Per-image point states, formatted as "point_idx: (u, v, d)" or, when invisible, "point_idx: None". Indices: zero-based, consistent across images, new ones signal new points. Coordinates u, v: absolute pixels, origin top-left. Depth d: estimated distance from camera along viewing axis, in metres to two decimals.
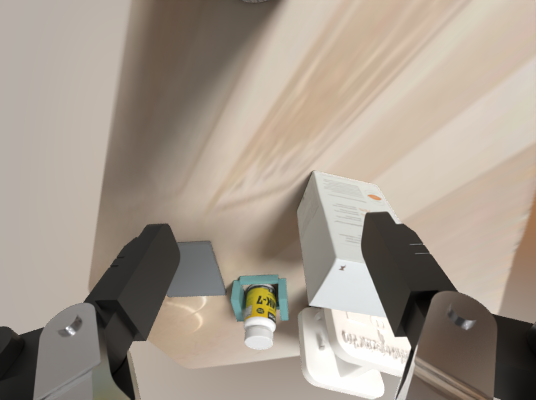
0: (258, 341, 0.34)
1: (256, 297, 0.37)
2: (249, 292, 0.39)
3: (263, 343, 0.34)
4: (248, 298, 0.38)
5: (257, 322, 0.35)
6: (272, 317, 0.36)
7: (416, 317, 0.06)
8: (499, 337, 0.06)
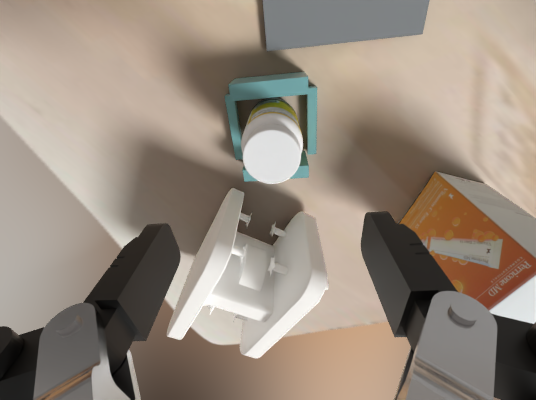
0: (279, 158, 0.17)
1: None
2: (289, 106, 0.21)
3: (271, 168, 0.17)
4: (288, 108, 0.20)
5: None
6: None
7: (416, 317, 0.06)
8: (499, 337, 0.06)
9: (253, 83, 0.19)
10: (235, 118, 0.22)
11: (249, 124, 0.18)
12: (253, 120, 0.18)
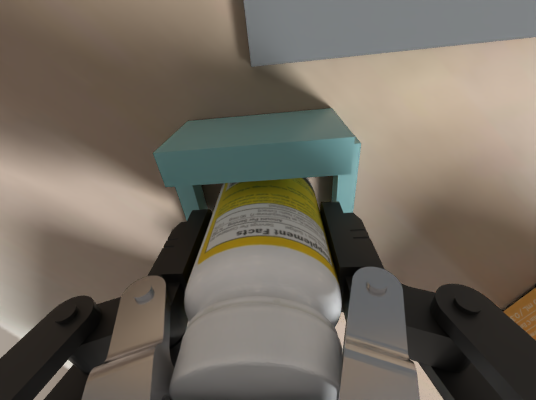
0: None
1: None
2: (301, 180, 0.10)
3: None
4: (300, 191, 0.09)
5: (332, 321, 0.07)
6: None
7: (346, 291, 0.07)
8: (408, 305, 0.06)
9: (215, 150, 0.07)
10: (192, 196, 0.11)
11: (200, 270, 0.07)
12: (210, 262, 0.06)
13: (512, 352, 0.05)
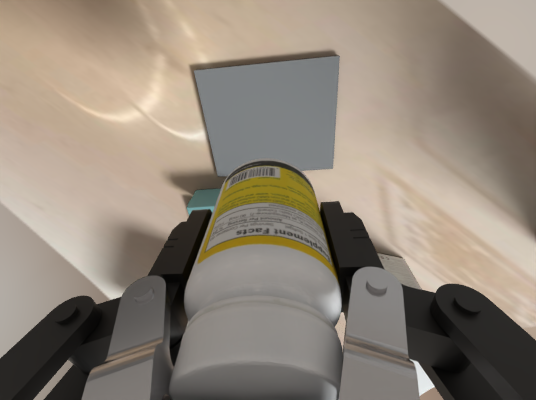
0: None
1: (322, 223, 0.10)
2: (300, 179, 0.10)
3: None
4: (300, 190, 0.09)
5: (333, 320, 0.07)
6: None
7: (346, 291, 0.07)
8: (409, 305, 0.06)
9: (205, 207, 0.25)
10: None
11: (200, 270, 0.06)
12: (210, 261, 0.06)
13: (512, 352, 0.05)
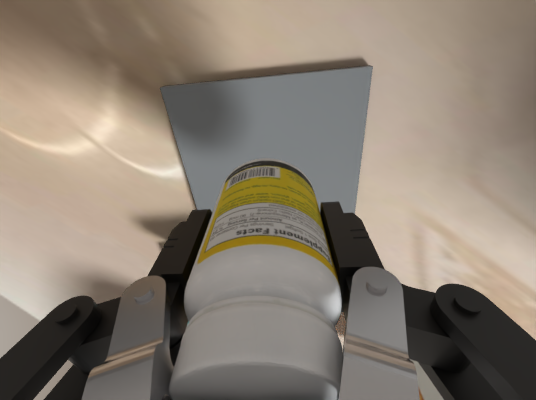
0: None
1: None
2: (300, 179, 0.10)
3: None
4: (300, 190, 0.09)
5: (333, 320, 0.07)
6: None
7: (346, 291, 0.07)
8: (409, 305, 0.06)
9: None
10: None
11: (199, 270, 0.06)
12: (210, 262, 0.06)
13: (512, 352, 0.05)
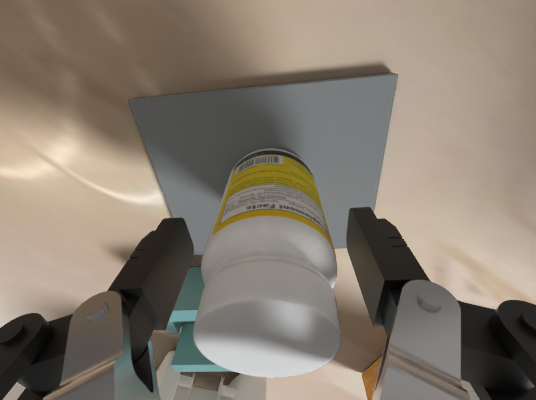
0: (286, 346, 0.07)
1: None
2: (302, 167, 0.11)
3: (266, 358, 0.07)
4: (301, 176, 0.10)
5: (329, 283, 0.08)
6: None
7: (390, 305, 0.07)
8: (464, 322, 0.06)
9: None
10: None
11: (216, 238, 0.08)
12: (224, 231, 0.07)
13: None
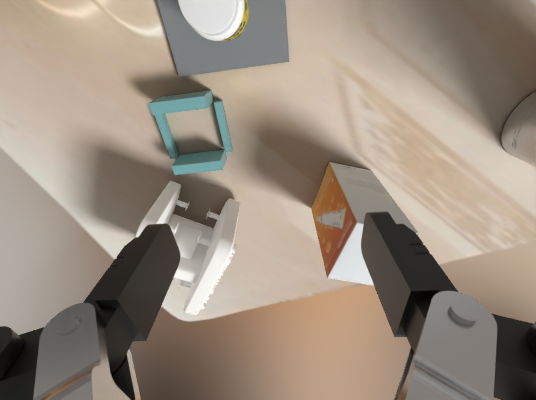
0: None
1: None
2: None
3: (208, 12, 0.17)
4: None
5: None
6: (235, 32, 0.20)
7: (416, 317, 0.06)
8: (499, 337, 0.06)
9: (166, 101, 0.25)
10: (164, 126, 0.29)
11: None
12: None
13: None
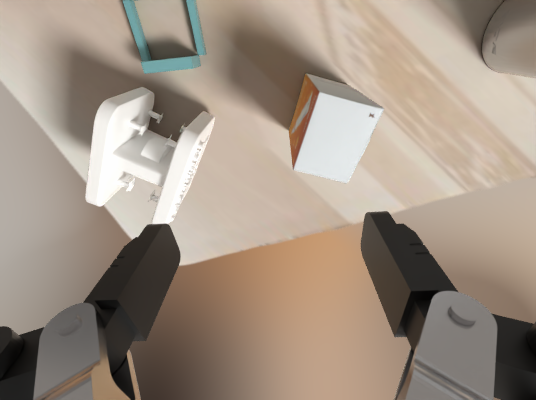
0: None
1: None
2: None
3: None
4: None
5: None
6: None
7: (416, 317, 0.06)
8: (499, 337, 0.06)
9: None
10: (134, 21, 0.29)
11: None
12: None
13: None
